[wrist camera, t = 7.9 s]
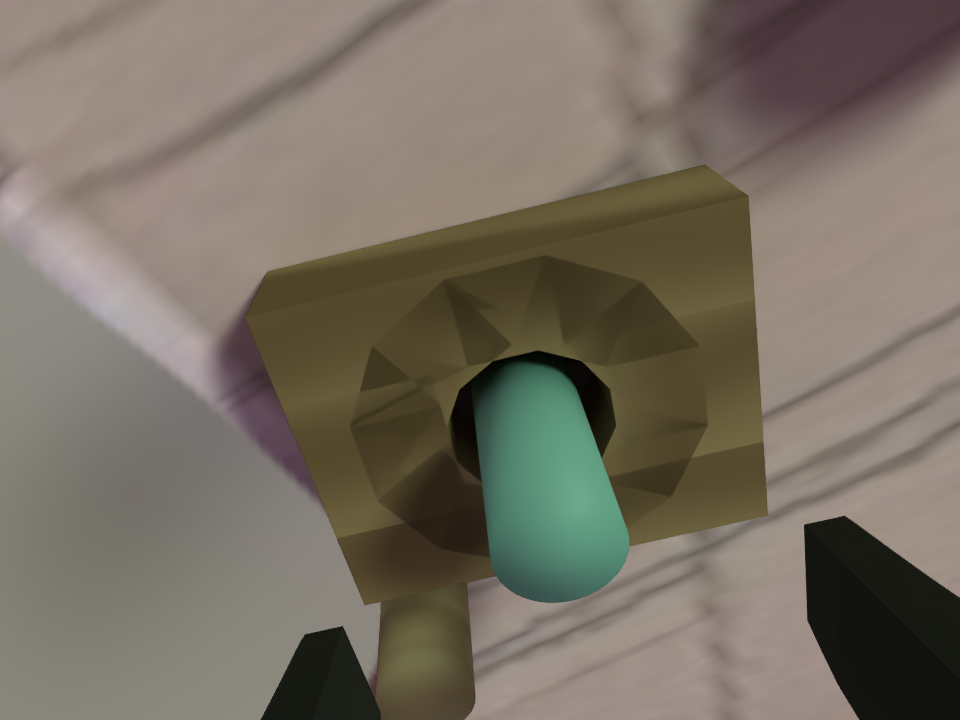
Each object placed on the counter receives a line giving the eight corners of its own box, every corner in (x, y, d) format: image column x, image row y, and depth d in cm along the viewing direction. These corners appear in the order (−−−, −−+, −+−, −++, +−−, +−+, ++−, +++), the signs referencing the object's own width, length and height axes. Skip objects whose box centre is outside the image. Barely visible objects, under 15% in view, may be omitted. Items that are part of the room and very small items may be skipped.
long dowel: (575, 398, 19) (639, 584, 14) (483, 422, 19) (509, 615, 14) (555, 315, 18) (615, 478, 12) (457, 341, 18) (474, 515, 13)
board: (730, 455, 20) (767, 515, 18) (370, 537, 21) (365, 605, 19) (704, 164, 17) (748, 196, 14) (267, 271, 17) (244, 317, 15)
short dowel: (474, 601, 22) (485, 721, 19) (395, 618, 22) (390, 741, 19) (455, 540, 21) (462, 656, 18) (372, 559, 21) (362, 678, 18)
